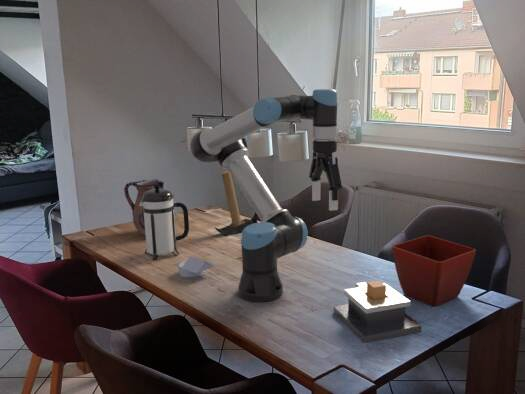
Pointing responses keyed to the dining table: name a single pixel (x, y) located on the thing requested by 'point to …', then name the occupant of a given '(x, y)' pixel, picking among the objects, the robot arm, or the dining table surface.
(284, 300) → the dining table surface
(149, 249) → the coffee press
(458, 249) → the plant pot
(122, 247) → the dining table surface
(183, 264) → the lavender faceted polyhedron
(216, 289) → the dining table surface
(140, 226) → the ceramic pitcher
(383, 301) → the tabbed square frame
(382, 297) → the orange rectangular block
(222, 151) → the robot arm
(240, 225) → the hammer
